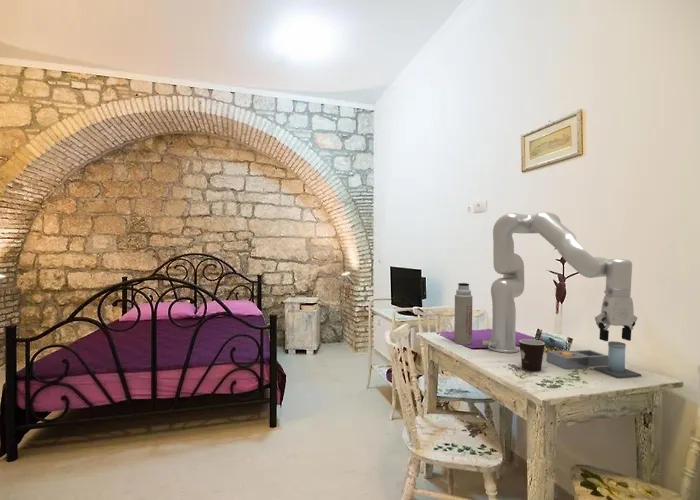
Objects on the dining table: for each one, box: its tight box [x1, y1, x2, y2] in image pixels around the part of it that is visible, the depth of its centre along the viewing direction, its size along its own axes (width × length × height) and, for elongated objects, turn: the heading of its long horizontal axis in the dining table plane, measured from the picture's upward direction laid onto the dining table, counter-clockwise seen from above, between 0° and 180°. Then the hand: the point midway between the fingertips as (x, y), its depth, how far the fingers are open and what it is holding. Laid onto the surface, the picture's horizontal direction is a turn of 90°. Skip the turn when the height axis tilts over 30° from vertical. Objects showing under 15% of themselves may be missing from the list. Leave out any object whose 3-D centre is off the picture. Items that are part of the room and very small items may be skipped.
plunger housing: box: [546, 349, 589, 370], centre depth 150 cm, size 10×10×4 cm
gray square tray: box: [572, 349, 608, 367], centre depth 153 cm, size 9×9×4 cm
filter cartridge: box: [607, 340, 627, 373], centre depth 140 cm, size 5×5×10 cm
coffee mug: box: [518, 338, 545, 373], centre depth 145 cm, size 12×9×10 cm
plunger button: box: [562, 352, 572, 356], centre depth 150 cm, size 4×4×4 cm
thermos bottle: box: [453, 282, 473, 346], centre depth 182 cm, size 8×8×28 cm
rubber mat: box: [593, 365, 642, 379], centre depth 140 cm, size 10×10×1 cm
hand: (615, 340), depth 140 cm, fingers open, 9 cm apart
